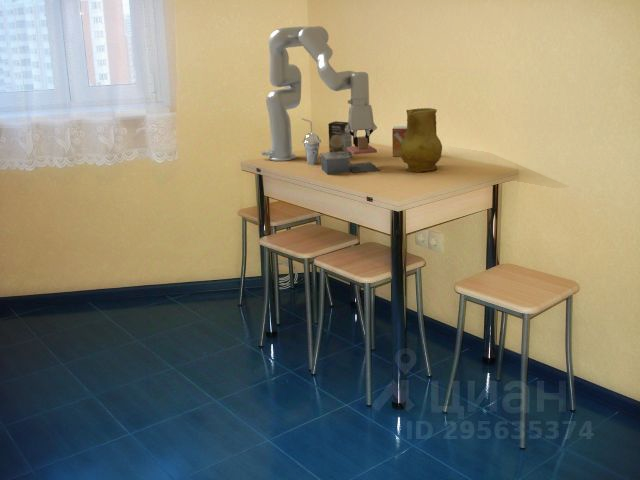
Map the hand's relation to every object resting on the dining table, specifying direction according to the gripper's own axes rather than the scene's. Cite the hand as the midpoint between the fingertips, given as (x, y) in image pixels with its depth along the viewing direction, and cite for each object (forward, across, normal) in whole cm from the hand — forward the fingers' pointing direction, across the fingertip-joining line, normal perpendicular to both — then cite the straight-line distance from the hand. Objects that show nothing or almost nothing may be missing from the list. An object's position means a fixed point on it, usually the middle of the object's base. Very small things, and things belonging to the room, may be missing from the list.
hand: (361, 145), depth 311 cm
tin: (+10, -12, 0) cm, 15 cm away
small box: (+10, +24, +19) cm, 32 cm away
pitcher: (+10, +23, -12) cm, 28 cm away
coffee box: (+10, -3, +27) cm, 29 cm away
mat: (+10, 0, 0) cm, 10 cm away
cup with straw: (+10, -18, +19) cm, 28 cm away
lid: (+2, 0, 0) cm, 2 cm away
